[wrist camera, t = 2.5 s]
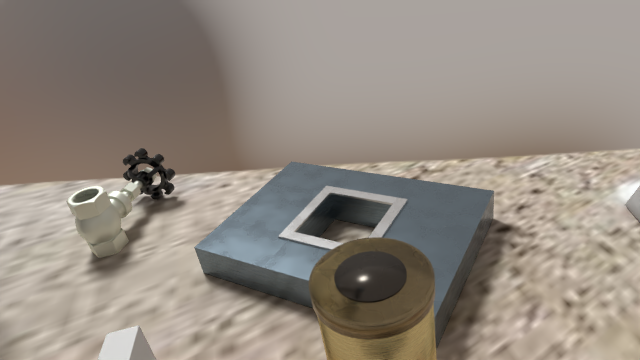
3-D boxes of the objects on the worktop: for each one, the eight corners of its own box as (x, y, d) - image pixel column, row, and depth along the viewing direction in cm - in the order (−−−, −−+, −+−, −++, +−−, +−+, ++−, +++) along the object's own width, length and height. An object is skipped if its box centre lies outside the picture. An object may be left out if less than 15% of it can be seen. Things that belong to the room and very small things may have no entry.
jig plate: (203, 273, 44) (193, 245, 43) (296, 184, 55) (291, 160, 54) (436, 348, 33) (434, 315, 31) (493, 218, 44) (494, 189, 43)
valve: (125, 262, 48) (183, 196, 58) (99, 207, 45) (166, 147, 54) (72, 259, 50) (137, 195, 60) (44, 206, 47) (118, 148, 56)
